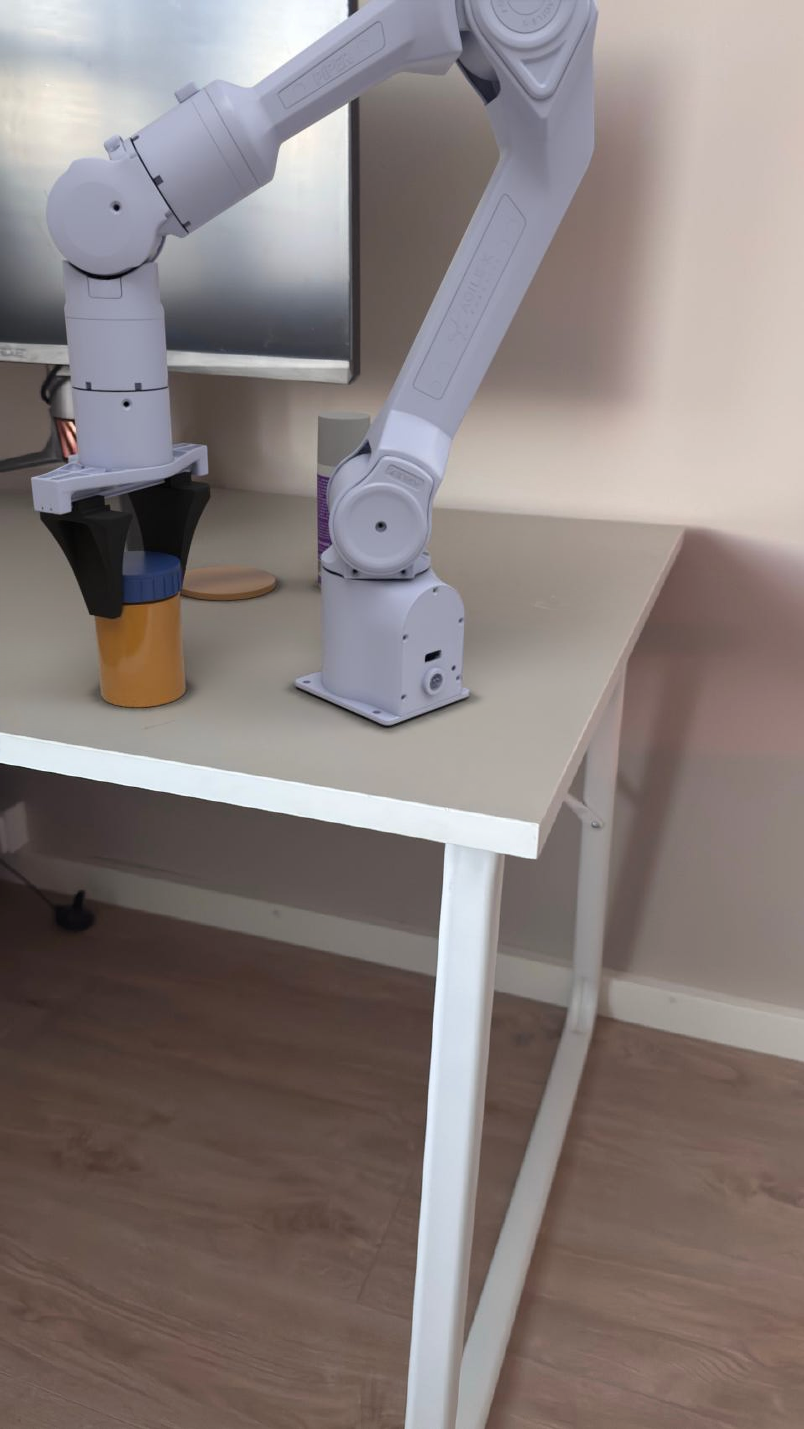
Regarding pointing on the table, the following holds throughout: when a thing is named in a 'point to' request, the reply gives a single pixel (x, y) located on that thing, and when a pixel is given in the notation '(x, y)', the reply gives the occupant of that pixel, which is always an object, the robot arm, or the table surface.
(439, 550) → the table surface
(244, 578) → the coaster
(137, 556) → the lid
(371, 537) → the robot arm
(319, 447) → the container
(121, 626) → the jar
